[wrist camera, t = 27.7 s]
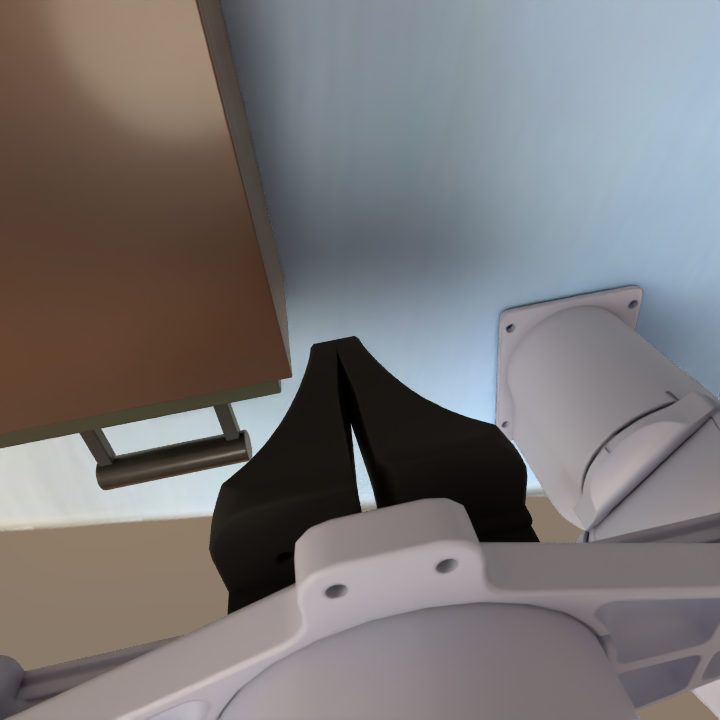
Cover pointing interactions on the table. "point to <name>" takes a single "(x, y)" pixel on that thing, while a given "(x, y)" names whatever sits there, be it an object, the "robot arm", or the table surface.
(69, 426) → the drawer
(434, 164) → the table surface
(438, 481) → the robot arm
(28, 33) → the cabinet
